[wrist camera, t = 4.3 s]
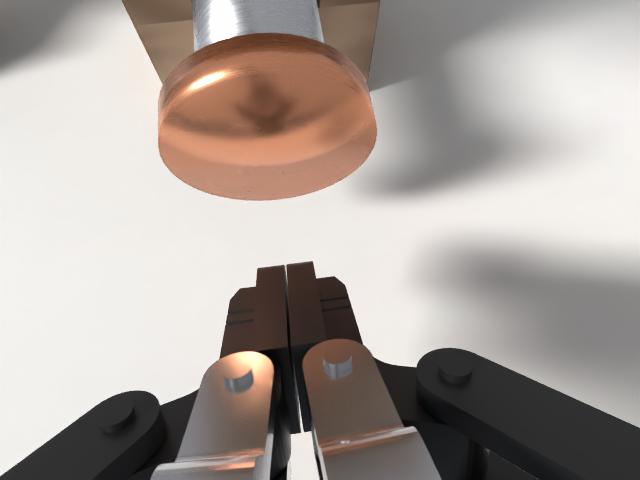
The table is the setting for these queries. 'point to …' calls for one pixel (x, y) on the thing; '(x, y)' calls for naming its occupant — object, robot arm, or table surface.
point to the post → (178, 36)
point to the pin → (263, 104)
